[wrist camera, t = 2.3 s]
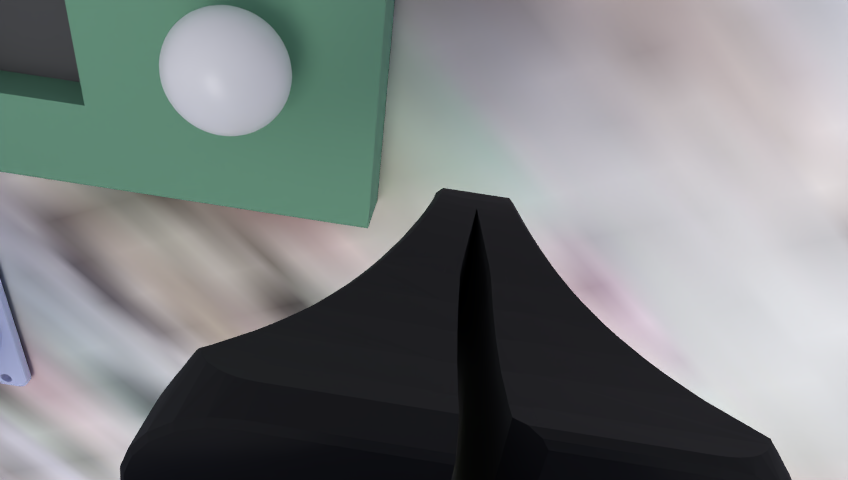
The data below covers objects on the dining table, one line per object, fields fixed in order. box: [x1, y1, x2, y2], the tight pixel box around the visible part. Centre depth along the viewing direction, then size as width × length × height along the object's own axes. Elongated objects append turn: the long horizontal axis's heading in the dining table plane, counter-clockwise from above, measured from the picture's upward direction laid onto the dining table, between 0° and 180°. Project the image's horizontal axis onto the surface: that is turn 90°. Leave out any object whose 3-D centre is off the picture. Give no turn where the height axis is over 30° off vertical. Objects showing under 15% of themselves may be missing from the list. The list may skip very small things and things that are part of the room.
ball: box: [159, 5, 292, 136], centre depth 17 cm, size 4×4×4 cm
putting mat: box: [0, 0, 395, 228], centre depth 20 cm, size 20×11×2 cm, turn 83°
